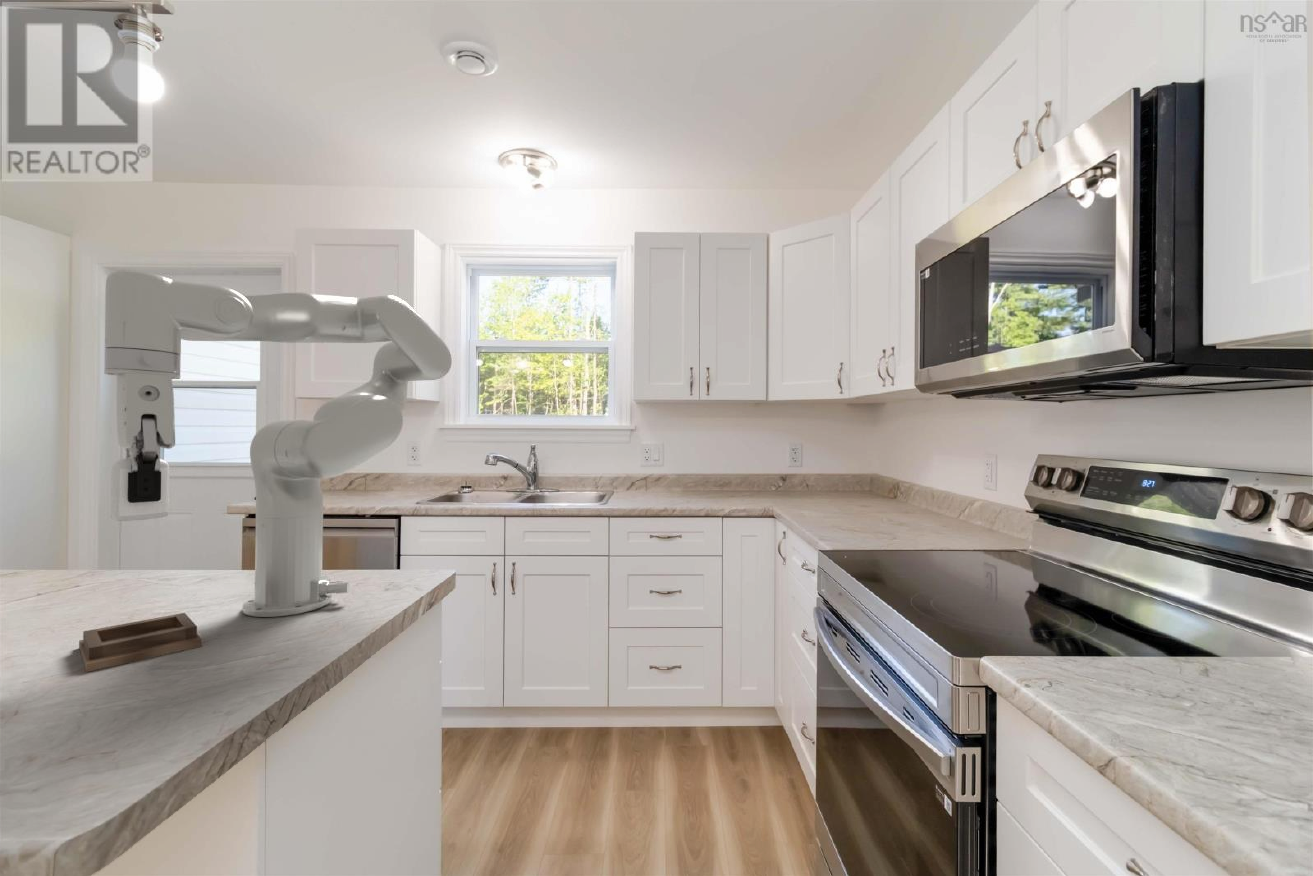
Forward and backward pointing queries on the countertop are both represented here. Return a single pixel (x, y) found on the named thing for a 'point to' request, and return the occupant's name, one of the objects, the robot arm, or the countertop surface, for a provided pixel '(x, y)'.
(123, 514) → the eye dropper bottle
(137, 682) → the countertop surface
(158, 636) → the pocket plate
